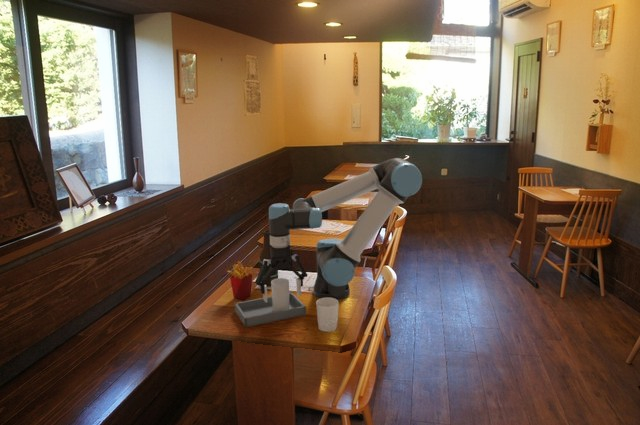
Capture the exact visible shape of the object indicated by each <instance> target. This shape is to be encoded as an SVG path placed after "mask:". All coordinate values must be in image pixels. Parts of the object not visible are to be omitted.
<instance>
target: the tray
mask: <svg viewBox="0 0 640 425" xmlns="http://www.w3.org/2000/svg"><path fill="white" fill-rule="evenodd" d="M267 301H268V302H265V301H264V300H263V297H262V298H261V297H260V298H256V299H250V300H245V301H239V302H236V303H235V302H234V313H236V315H237V316H238V318H239V320H240V321H241V322H242V324H243V326H244V327H245V328H250V327H256V326H261V325H264V324H270V323H273V322H279V321H283V320H289V319H295V318H298V317H303V316H304V317H305V316H306V315H307V306H306V305H305V304H304V303H303V301H301V300H300V299H299V297H298V296H297V295H295V294H294V293H293V292H289V309H286V310H281V311H276V312H273V303H272V295H271V296H267Z"/></svg>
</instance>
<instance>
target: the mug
mask: <svg viewBox="0 0 640 425" xmlns="http://www.w3.org/2000/svg"><path fill="white" fill-rule="evenodd" d="M270 288H271V296H272V303H273V312H276V311H281V310H286V309H289V293H290V280H289V279H287V278H284V277H278V278H277V279H274V280H272V281H271V287H270Z"/></svg>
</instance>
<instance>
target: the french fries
mask: <svg viewBox="0 0 640 425" xmlns="http://www.w3.org/2000/svg"><path fill="white" fill-rule="evenodd" d="M232 267H233V271H232V270H227V273H228V274H231V275H230V276H229V278H230V279H229V280H230V284H231V290H232V295H233V299H234V300H238V301H239V302H244V301H247V300H248V299H250V298H251V297H252V285H253V284H252V282H253V274H252V273H250V270H252V269H253V266H250V267H247V266H246V267H245V268H244V265H243V263H242V262H241V261H237V264H236V263H235V264H233V265H232Z"/></svg>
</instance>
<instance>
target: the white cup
mask: <svg viewBox="0 0 640 425" xmlns="http://www.w3.org/2000/svg"><path fill="white" fill-rule="evenodd" d="M315 304H316V316H317V317H316V318H317V325H318V330H320V331H321V332H326V333H327V332H328V333H330V332H335V331H336V330H337V329H338V320H339V300H337V299H334V298H328V297H327V298H321V299H319V298H317V300H316V302H315Z"/></svg>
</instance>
